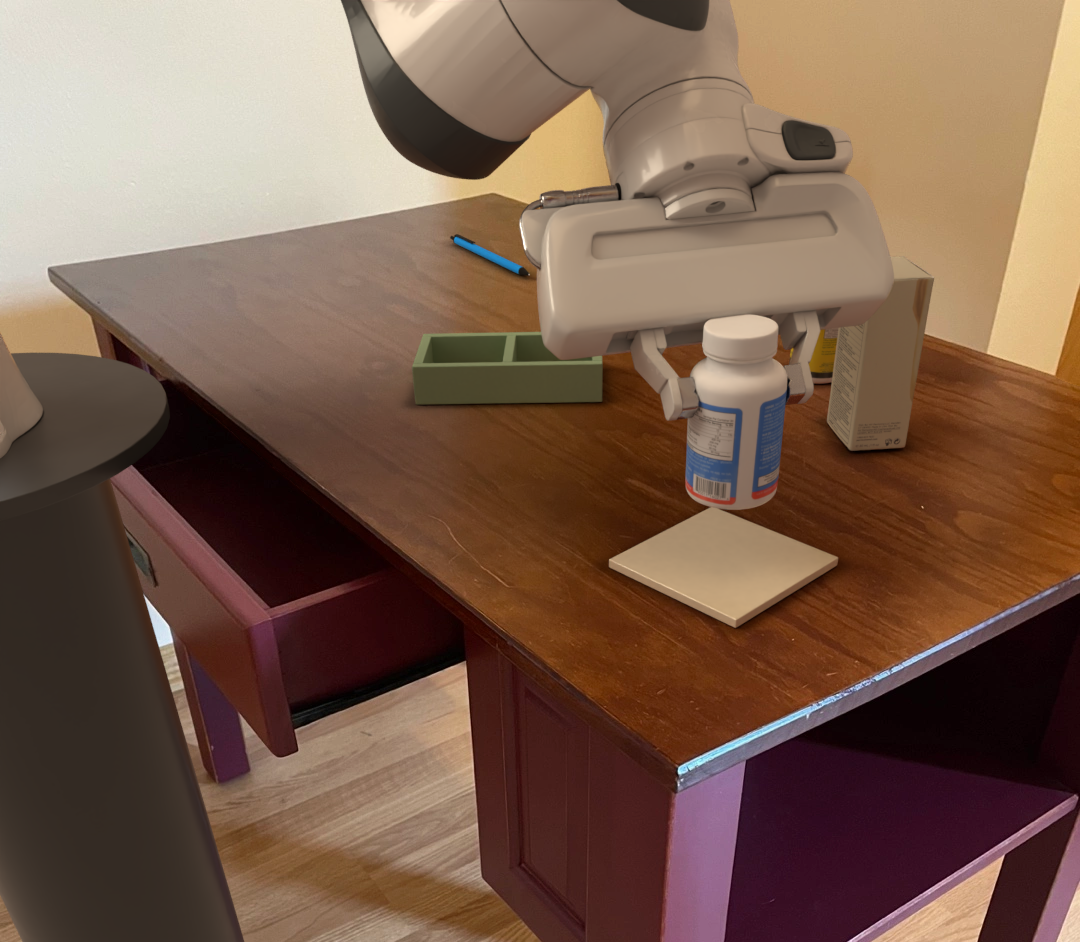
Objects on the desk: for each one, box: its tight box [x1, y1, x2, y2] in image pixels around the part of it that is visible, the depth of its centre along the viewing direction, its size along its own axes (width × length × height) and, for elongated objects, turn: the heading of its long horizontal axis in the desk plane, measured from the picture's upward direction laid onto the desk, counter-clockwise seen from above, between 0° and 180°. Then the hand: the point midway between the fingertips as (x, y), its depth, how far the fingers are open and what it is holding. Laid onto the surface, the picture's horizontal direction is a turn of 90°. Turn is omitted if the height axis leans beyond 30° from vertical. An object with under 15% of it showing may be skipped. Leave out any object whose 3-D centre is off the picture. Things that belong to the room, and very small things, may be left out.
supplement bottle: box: [788, 328, 839, 385], centre depth 90 cm, size 5×5×8 cm
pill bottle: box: [684, 314, 787, 511], centre depth 61 cm, size 6×5×10 cm
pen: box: [449, 233, 531, 277], centre depth 123 cm, size 1×19×1 cm, turn 30°
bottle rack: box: [411, 331, 604, 406], centre depth 91 cm, size 8×15×3 cm, turn 88°
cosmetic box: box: [826, 255, 935, 452], centre depth 79 cm, size 6×4×12 cm
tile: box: [608, 507, 839, 629], centre depth 67 cm, size 10×10×1 cm
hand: (741, 408), depth 60 cm, fingers closed on pill bottle, 5 cm apart
